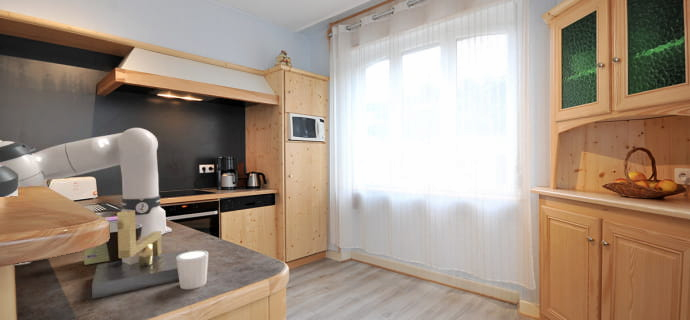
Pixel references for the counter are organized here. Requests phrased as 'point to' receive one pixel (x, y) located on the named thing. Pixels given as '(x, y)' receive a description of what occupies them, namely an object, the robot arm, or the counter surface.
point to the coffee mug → (113, 244)
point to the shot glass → (192, 269)
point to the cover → (131, 259)
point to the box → (98, 250)
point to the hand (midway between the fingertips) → (117, 226)
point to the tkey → (129, 245)
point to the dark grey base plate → (134, 275)
